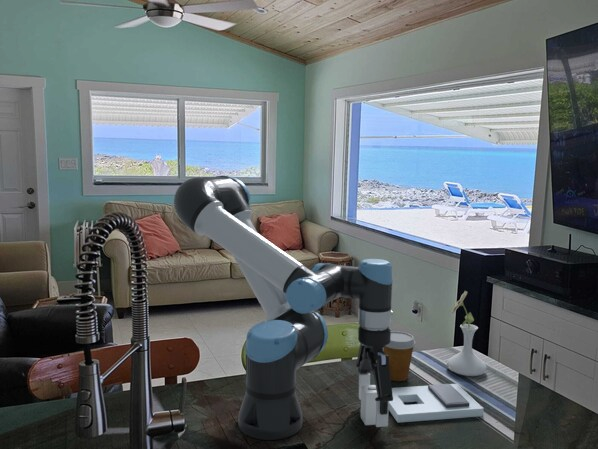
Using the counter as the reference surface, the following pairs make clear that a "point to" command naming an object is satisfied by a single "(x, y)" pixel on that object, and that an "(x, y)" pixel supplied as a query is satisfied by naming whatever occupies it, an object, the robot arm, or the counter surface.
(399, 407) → the outlet board
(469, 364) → the flower in vase
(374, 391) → the block
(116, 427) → the counter surface
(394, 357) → the disposable coffee cup
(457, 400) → the phone
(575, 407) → the counter surface
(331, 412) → the counter surface
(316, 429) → the counter surface
